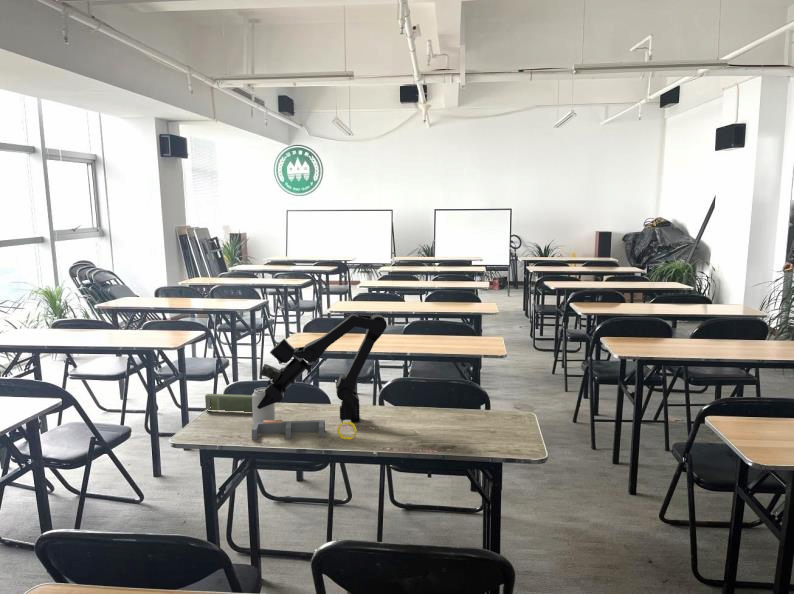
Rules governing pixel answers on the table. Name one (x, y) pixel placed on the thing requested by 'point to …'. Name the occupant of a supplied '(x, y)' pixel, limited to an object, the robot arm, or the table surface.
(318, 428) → the comb rack
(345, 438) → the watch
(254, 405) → the can
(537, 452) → the table surface
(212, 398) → the handheld radio
